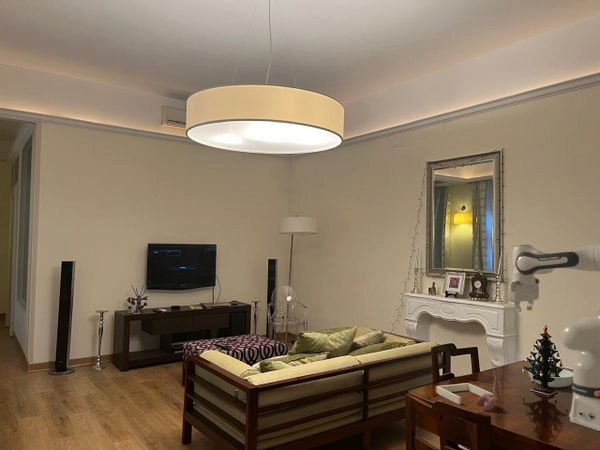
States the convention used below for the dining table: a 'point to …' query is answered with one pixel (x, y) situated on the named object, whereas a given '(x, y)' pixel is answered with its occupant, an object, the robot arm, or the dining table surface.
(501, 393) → the dining table surface
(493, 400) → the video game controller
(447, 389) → the cream bay
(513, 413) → the dining table surface
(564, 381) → the serving bowl
